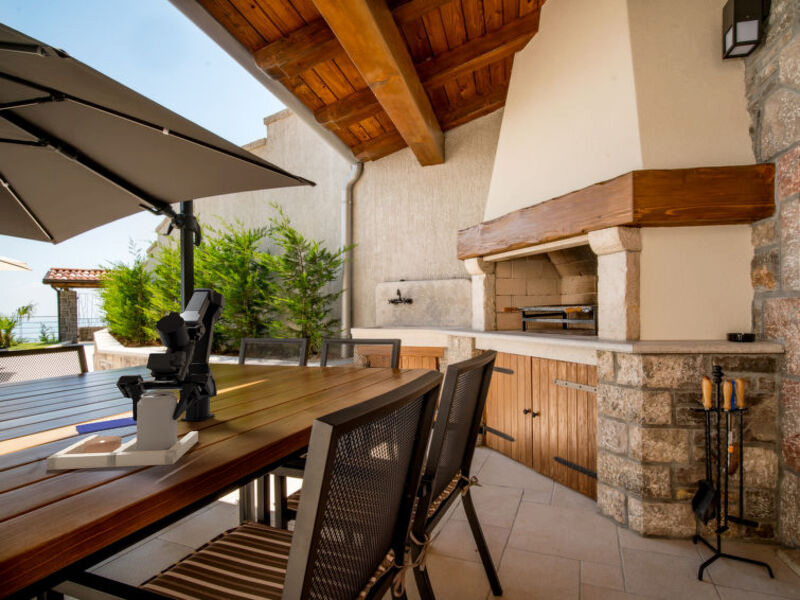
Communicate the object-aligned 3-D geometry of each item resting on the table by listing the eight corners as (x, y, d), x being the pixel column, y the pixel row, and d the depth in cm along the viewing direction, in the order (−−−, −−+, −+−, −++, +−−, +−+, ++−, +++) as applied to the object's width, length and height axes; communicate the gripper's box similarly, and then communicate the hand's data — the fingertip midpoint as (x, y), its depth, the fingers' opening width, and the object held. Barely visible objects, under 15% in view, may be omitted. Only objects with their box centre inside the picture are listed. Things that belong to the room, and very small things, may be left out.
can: (184, 446, 88) (185, 391, 88) (149, 458, 81) (150, 398, 81) (163, 440, 91) (164, 388, 92) (128, 451, 85) (129, 394, 85)
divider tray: (91, 447, 91) (91, 435, 91) (197, 442, 94) (197, 431, 94) (46, 472, 77) (47, 457, 77) (173, 466, 80) (173, 452, 80)
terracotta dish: (102, 448, 88) (102, 435, 88) (128, 450, 87) (128, 436, 87) (75, 459, 82) (75, 444, 82) (103, 461, 81) (103, 446, 81)
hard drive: (132, 416, 113) (75, 424, 104) (138, 422, 107) (79, 432, 98) (131, 421, 113) (75, 431, 104) (138, 428, 107) (78, 438, 98)
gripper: (121, 338, 89) (90, 400, 78) (210, 338, 92) (192, 398, 81) (138, 368, 97) (112, 428, 86) (220, 367, 100) (204, 425, 89)
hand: (154, 419), depth 85 cm, fingers closed on can, 7 cm apart
